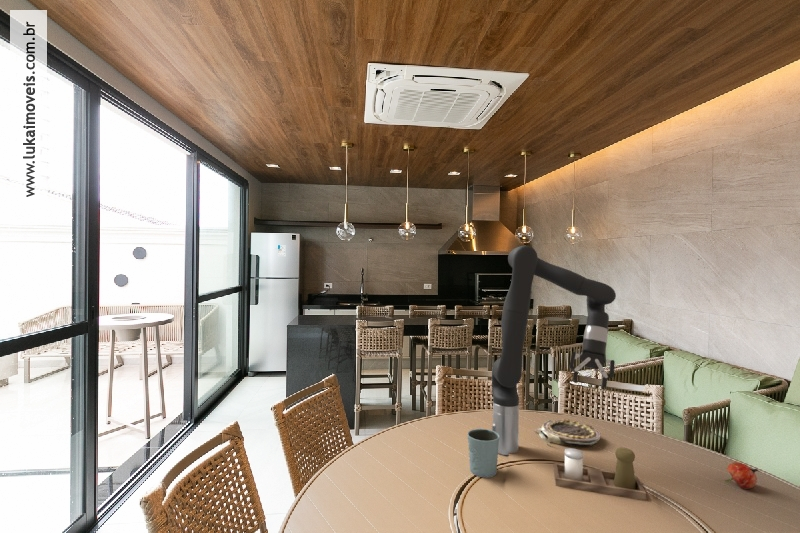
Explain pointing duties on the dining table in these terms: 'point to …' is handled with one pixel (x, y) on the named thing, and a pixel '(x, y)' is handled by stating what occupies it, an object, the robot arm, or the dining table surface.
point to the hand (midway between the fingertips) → (588, 385)
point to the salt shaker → (573, 464)
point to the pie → (569, 433)
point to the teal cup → (483, 452)
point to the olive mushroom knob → (625, 469)
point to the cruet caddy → (597, 482)
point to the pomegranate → (742, 475)
